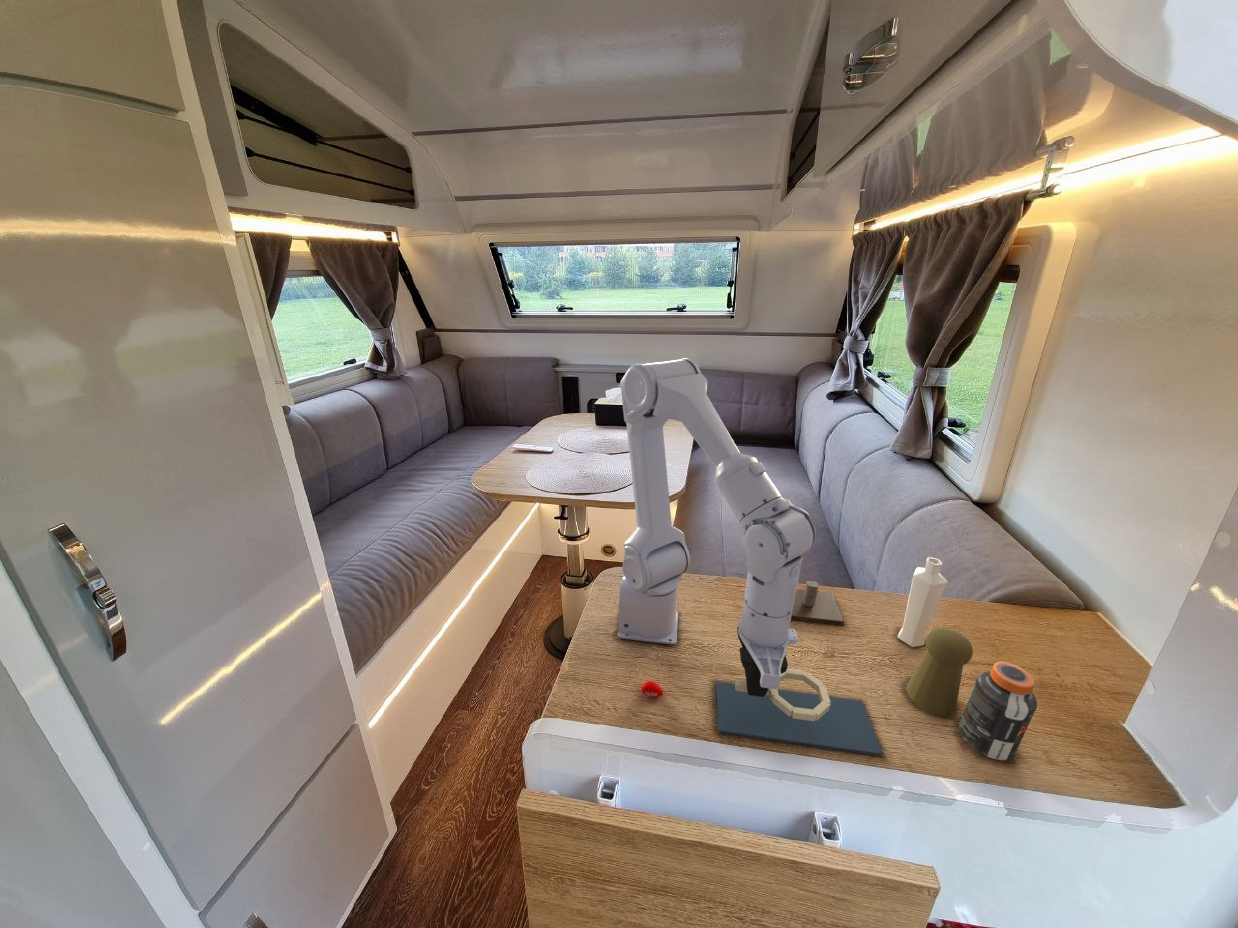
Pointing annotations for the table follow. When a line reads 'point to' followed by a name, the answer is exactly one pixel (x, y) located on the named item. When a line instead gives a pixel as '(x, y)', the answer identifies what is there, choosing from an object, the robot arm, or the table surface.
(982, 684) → the pill bottle
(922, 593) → the perfume bottle
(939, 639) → the pepper shaker
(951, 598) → the table surface
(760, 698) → the mat
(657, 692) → the candy
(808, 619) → the peg stand
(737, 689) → the octagonal ring with handle
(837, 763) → the table surface
